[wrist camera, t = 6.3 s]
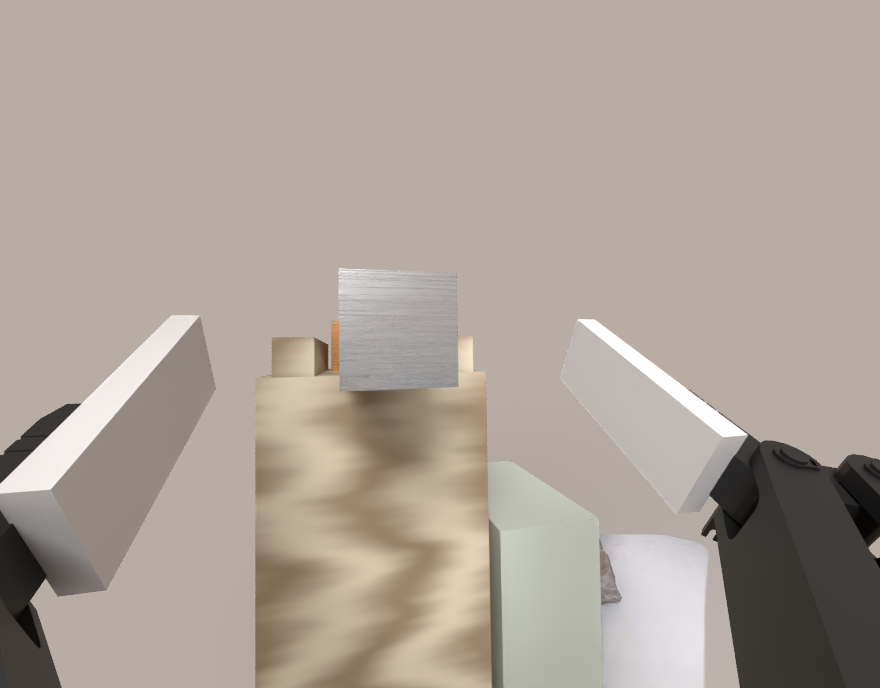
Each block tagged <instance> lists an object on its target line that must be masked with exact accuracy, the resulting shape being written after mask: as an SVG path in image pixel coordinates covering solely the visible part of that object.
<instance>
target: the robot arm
mask: <svg viewBox="0 0 880 688" xmlns="http://www.w3.org/2000/svg"><path fill="white" fill-rule="evenodd" d="M560 380H561V381H562V382H563V383H564V384H565V386H566V387H567V388H568V389H569V390H570V391H571V393H572V394H573V395H574V396H575V397H576V398H577V400H578V401H579V402H580V403H581V404H582V405H583V407H584V408H585V409H586V410H587V411H588V412H589V413H590V415H591V416H592V417H593V418H594V419H595V421H596V422H597V423H598V424H599V425H600V426H601V427H602V429H603V430H604V431H605V432H606V433H607V435H608V436H609V437H610V438H611V439H612V440H613V442H614V443H615V444H616V445H617V446H618V447H619V449H621V451H622V452H623V453H624V454H625V455H626V457H627V458H628V459H629V460H630V461H631V462H632V464H633V465H634V466H635V467H636V468H637V469H638V471H639V472H640V473H641V474H642V475H643V476H644V478H645V479H646V480H647V481H648V482H649V483H650V485H651V486H652V487H653V488H654V489H655V490H656V492H657V493H658V494H659V495H660V496H661V497H662V499H663V500H664V501H665V502H666V503H667V504H668V506H669V507H670V508H671V509H672V510H673V511H674V513H675V514H684V513H692V512H699V511H700V510H701V508H702V506H703V505H704V503H705V502H706V500H707V499H708V497H709V496H711V497H712V498H713V499H714V500H715V501H716V502H717V503H718V504H719V505H718V507H717V508H716V510H715V511H714V513H713V514H712V516H711V517H710V519H709V520H708V522H707V523H706V525H705V526H704V528H703V529H702V534H701V535H703V536H705V537H706V536H707V534H708V533H709V532H710V530H713V529H714V530H716V535H715V536H714V538H713V540H714V541H716V542H718V548H719V555H720V561H721V567H722V574H723V580H724V587H725V593H726V600H727V607H728V613H729V619H730V626H731V633H732V639H733V645H734V652H735V658H736V664H737V671H738V678H739V684H740V688H880V558H876V557H875V556H874V555H873V554H872V553H871V552H870V550H869V548H868V547H869V546H870V545H871V544H872V543H873V542H874V541H875V540H876V539H878V538H879V537H880V460H878V459H875V458H874V459H873V458H870V457H866V456H863V455H855V454H853V455H849V456H847V457H846V458H845V460H844V461H843V462H842V463H841V464H840V466H839V467H838V468H832V467H826V466H821V465H820V464H819V463H818V462H817V461H816V460H815V459H813V458H812V457H811V456H809V455H807V454H805V453H804V452H802V451H800V450H799V449H797V448H794V447H792V446H789V445H787V444H784V443H780V442H776V441H763V442H761V443H760V442H759V441H757V440H756V439H755V438H753V437H752V436H751V435H749V434H748V433H747V432H745V431H744V430H743V429H741V428H740V427H739V426H737V425H736V424H735V423H733V422H732V421H731V420H729V419H728V418H726V417H725V416H724V415H723V414H721V413H720V412H717V411H716V410H715V409H714V408H713V407H712V406H711V405H709V404H708V403H705V402H704V400H703V399H701V398H700V397H699V396H697V395H696V394H695V393H693V392H692V391H691V390H688V389H687V388H685V387H683V386H682V385H681V384H679V383H678V382H677V381H675V380H674V379H673V378H672V377H670V376H669V375H668V374H666V373H665V372H663V371H662V370H661V369H659V368H658V367H657V366H656V365H654V364H653V363H652V362H650V361H649V360H648V359H646V358H645V357H644V356H642V355H641V354H639V353H638V352H637V351H636V350H634V349H633V348H632V347H630V346H629V345H628V344H626V343H625V342H624V341H622V340H621V339H619V338H618V337H617V336H616V335H614V334H613V333H612V332H610V331H609V330H608V329H606V328H605V327H604V326H602V325H601V324H600V323H598V322H597V321H596V320H583V319H580V320H579V319H578V320H577V322H576V325H575V329H574V332H573V335H572V339H571V342H570V346H569V348H568V352H567V355H566V359H565V362H564V365H563V369H562V372H561V375H560ZM215 389H216V387H215V383H214V378H213V373H212V369H211V364H210V360H209V355H208V351H207V346H206V341H205V336H204V332H203V327H202V323H201V318H200V315H199V316H197V315H196V316H194V315H172V316H171V317H169V318H168V320H167V321H166V322H164V323H163V324H162V325H161V326H160V327H159V328H158V329H157V330H156V331H155V332H154V333H153V334H152V335H151V336H150V337H149V338H148V339H147V340H146V341H145V342H144V343H143V344H142V345H141V346H140V347H139V348H138V349H137V350H136V351H135V352H134V353H133V354H132V355H131V356H130V357H129V358H128V359H127V360H126V361H125V362H124V363H123V364H122V365H121V366H120V367H119V368H118V369H117V370H116V371H115V372H114V373H113V374H111V375H110V376H109V378H107V379H106V380H105V382H103V383H102V384H101V385H100V386H99V387H98V388H97V389H96V390H95V391H94V392H93V393H92V394H91V395H90V396H89V397H88V398H87V399H86V400H85V401H84V402H83V403H82V404H66V405H64V406H63V407H61V408H59V409H57V410H55V411H54V412H52V413H50V414H48V415H47V416H45V417H43V418H41V419H40V420H39V421H37V422H36V423H35V424H34V425H33V426H32V427H31V428H30V429H28V430H27V431H26V432H25V433H24V434H23V435H22V436H21V439H20V440H17V441H15V442H14V443H13V444H12V445H11V446H10V447H9V448H7V449H6V450H5V451H4V452H5V453H4V455H0V688H61V685H60V681H59V678H58V675H57V672H56V669H55V666H54V663H53V660H52V657H51V654H50V650H49V647H48V644H47V641H46V638H45V635H44V632H43V629H42V626H41V622H40V619H39V616H38V613H37V610H36V609H35V607H34V606H33V605H32V603H31V602H30V600H31V598H32V597H33V596H34V594H35V593H36V591H37V590H38V588H39V587H40V586H41V584H42V583H43V581H44V580H45V578H46V580H47V581H48V582H49V584H50V586H51V587H52V588H53V590H54V592H55V593H56V594H57V596H65V595H73V594H81V593H88V592H96V591H103V590H106V589H107V588H108V586H109V584H110V582H111V580H112V579H113V577H114V575H115V573H116V571H117V569H118V567H119V566H120V564H121V562H122V560H123V558H124V557H125V555H126V553H127V551H128V549H129V547H130V546H131V544H132V542H133V540H134V538H135V536H136V535H137V533H138V531H139V529H140V527H141V525H142V523H143V522H144V520H145V518H146V516H147V514H148V512H149V511H150V509H151V507H152V505H153V503H154V501H155V500H156V498H157V496H158V494H159V492H160V490H161V488H162V487H163V485H164V483H165V481H166V479H167V477H168V476H169V474H170V472H171V470H172V468H173V466H174V465H175V463H176V461H177V459H178V457H179V455H180V454H181V452H182V450H183V448H184V446H185V445H186V443H187V441H188V439H189V437H190V435H191V433H192V432H193V430H194V428H195V426H196V424H197V422H198V420H199V419H200V417H201V415H202V413H203V411H204V410H205V407H206V406H207V404H208V402H209V400H210V399H211V397H212V395H213V393H214V391H215Z"/></svg>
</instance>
